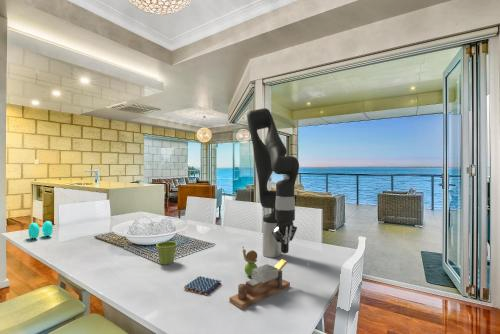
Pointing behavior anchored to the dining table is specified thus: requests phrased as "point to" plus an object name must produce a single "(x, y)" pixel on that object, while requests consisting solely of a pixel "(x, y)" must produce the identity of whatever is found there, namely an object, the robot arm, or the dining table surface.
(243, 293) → the plane body
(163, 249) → the plant pot
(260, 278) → the grey rough lump
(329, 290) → the dining table surface
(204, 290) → the woven mat
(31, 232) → the turquoise egg pair
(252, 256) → the green toy figurine
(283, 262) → the lever
